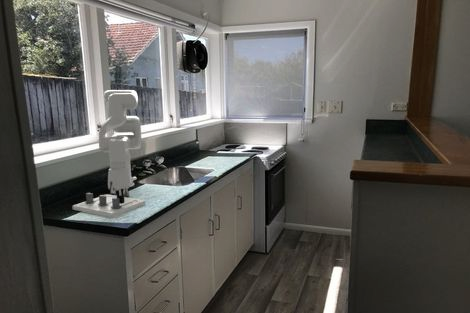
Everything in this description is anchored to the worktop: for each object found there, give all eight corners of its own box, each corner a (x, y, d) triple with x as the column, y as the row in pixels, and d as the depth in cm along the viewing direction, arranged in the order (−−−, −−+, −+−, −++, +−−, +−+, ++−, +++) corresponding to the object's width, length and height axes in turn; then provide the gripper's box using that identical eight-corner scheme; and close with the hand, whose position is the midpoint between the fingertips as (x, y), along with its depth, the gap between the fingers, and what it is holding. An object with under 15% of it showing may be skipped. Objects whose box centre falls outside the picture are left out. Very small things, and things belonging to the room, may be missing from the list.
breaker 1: (89, 200, 184) (88, 192, 183) (95, 201, 182) (94, 193, 181) (84, 202, 181) (83, 193, 180) (90, 203, 179) (89, 194, 178)
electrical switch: (130, 196, 199) (127, 180, 197) (120, 199, 196) (117, 182, 194) (125, 193, 207) (122, 177, 205) (115, 195, 204) (113, 179, 202)
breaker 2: (102, 203, 180) (101, 194, 179) (108, 204, 178) (107, 195, 177) (97, 204, 177) (97, 195, 176) (103, 206, 175) (103, 196, 174)
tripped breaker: (115, 206, 175) (114, 196, 174) (121, 207, 173) (121, 197, 172) (110, 207, 172) (110, 198, 172) (117, 208, 171) (116, 199, 170)
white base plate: (107, 197, 197) (107, 194, 196) (145, 204, 185) (145, 200, 185) (72, 209, 178) (72, 205, 177) (112, 217, 166) (112, 213, 165)
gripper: (123, 161, 180) (126, 197, 184) (100, 167, 167) (103, 206, 170) (135, 163, 177) (137, 199, 180) (112, 169, 164) (115, 208, 167)
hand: (120, 202), depth 175 cm, fingers closed
